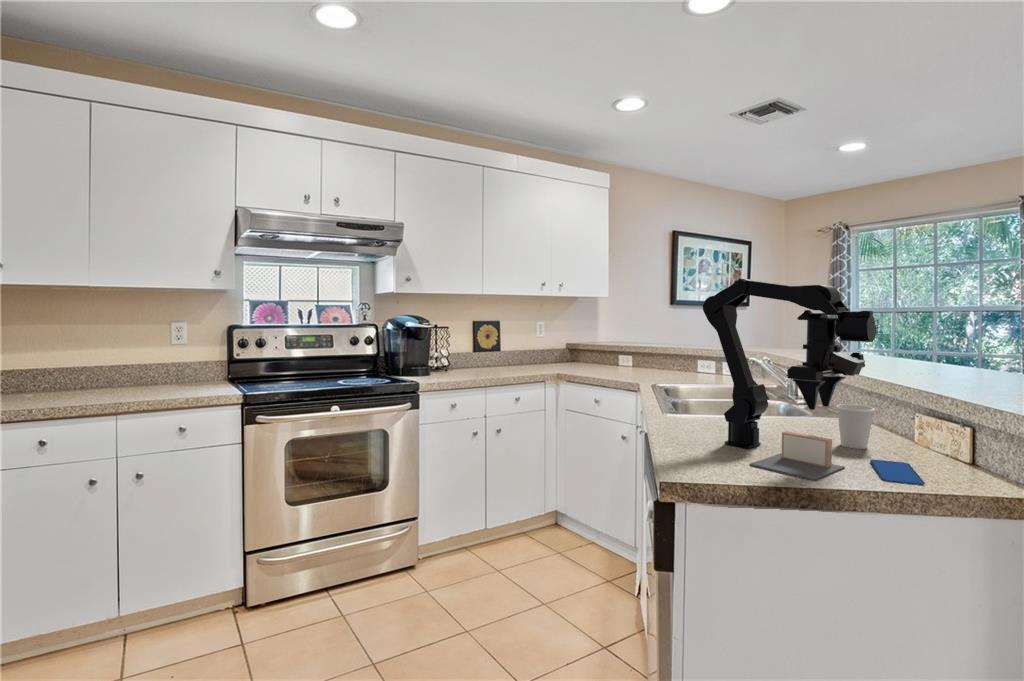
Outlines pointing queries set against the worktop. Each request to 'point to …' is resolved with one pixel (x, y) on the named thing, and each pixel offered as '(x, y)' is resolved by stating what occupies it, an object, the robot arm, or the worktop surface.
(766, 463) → the mat
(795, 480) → the worktop surface
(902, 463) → the smartphone
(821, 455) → the block
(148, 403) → the worktop surface
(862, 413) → the dixie cup
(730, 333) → the robot arm
